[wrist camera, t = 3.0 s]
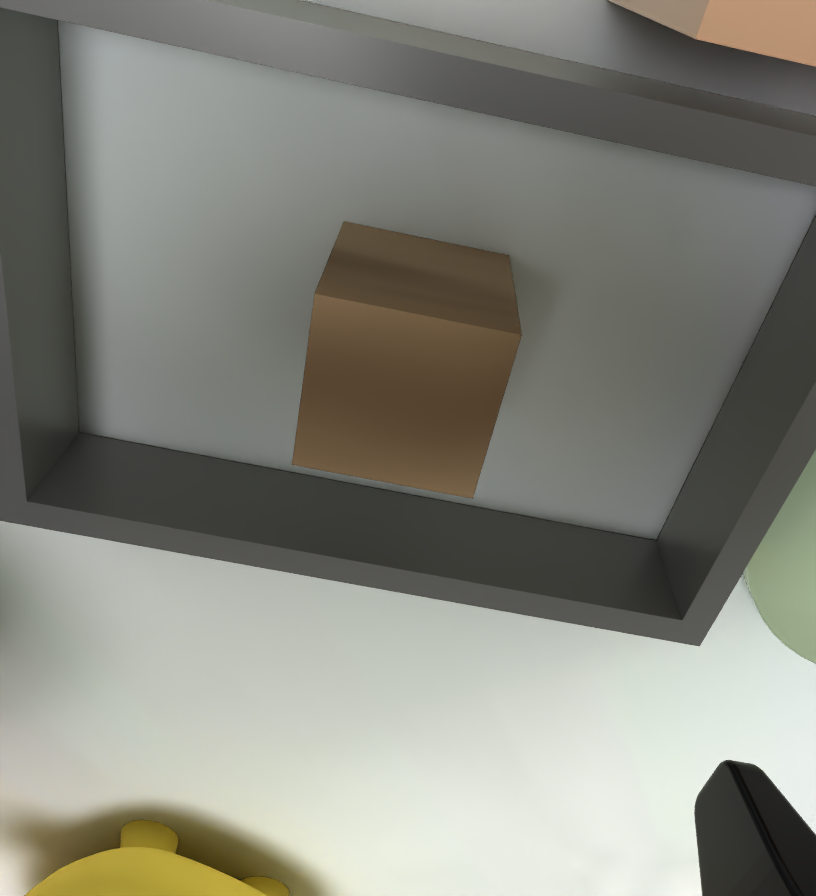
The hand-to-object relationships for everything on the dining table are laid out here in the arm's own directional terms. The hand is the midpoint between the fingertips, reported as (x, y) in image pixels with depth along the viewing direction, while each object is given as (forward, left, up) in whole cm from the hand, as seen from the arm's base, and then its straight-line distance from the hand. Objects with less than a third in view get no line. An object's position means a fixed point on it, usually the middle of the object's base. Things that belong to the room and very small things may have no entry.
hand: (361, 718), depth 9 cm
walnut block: (0, 0, -12) cm, 12 cm away
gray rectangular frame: (0, 0, -12) cm, 12 cm away
